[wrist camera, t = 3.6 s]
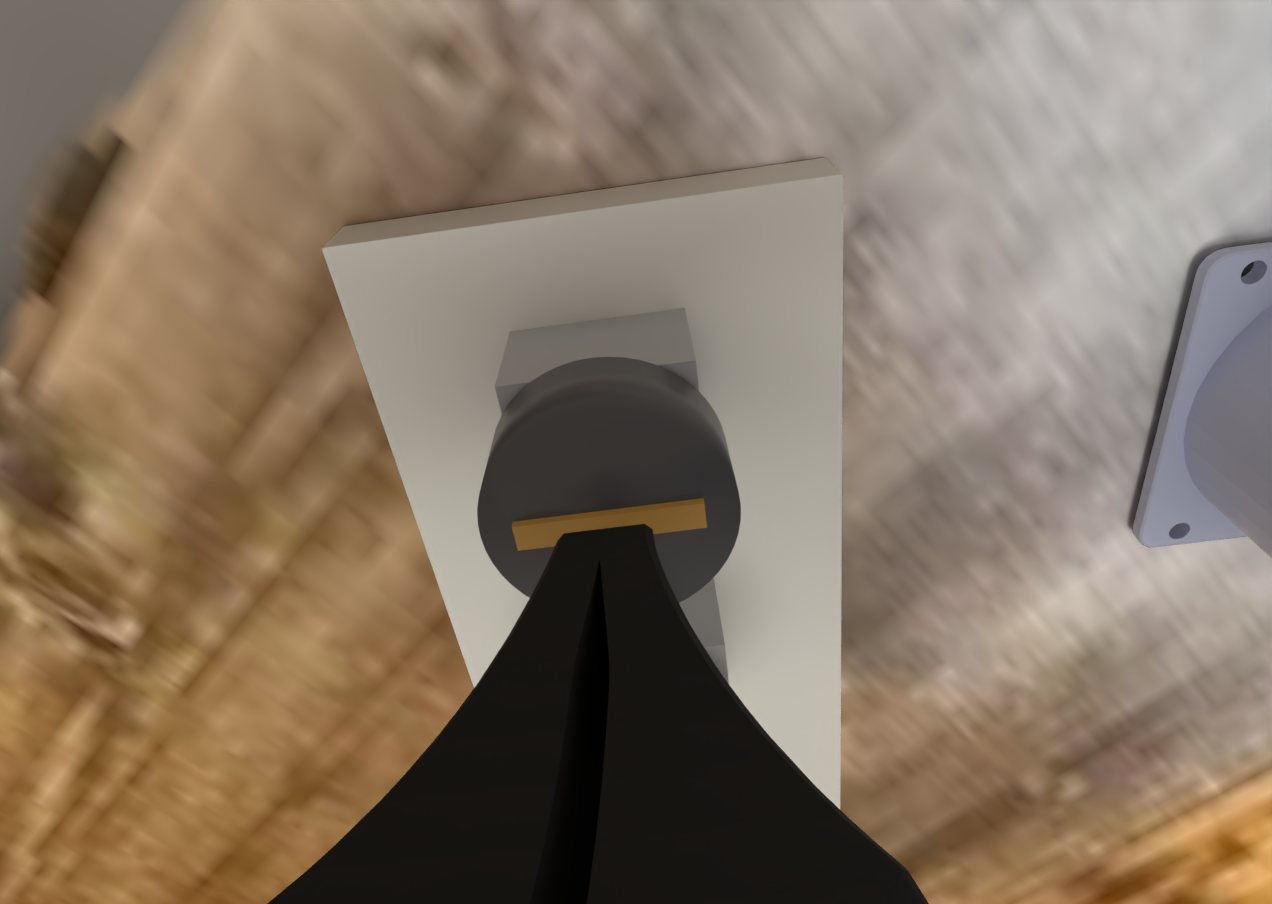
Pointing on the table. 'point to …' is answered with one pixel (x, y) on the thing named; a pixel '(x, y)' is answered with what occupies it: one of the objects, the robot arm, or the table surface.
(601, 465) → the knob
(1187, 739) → the table surface
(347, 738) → the table surface
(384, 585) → the table surface
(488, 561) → the knob mount
